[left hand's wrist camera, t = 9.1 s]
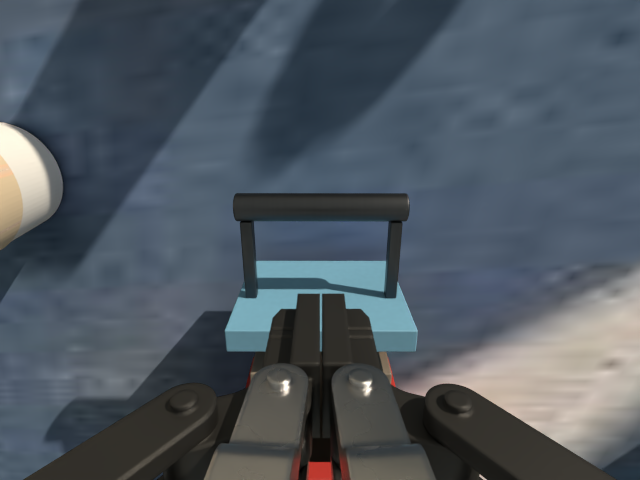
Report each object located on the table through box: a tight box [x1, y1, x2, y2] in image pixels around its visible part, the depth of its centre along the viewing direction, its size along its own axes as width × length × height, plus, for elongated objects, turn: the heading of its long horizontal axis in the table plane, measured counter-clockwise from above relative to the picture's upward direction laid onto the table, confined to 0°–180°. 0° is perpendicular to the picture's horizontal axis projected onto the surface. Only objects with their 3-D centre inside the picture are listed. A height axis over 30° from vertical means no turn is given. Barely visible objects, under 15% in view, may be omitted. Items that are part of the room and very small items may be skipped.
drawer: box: [225, 193, 418, 462], centre depth 24 cm, size 24×9×8 cm, turn 0°
